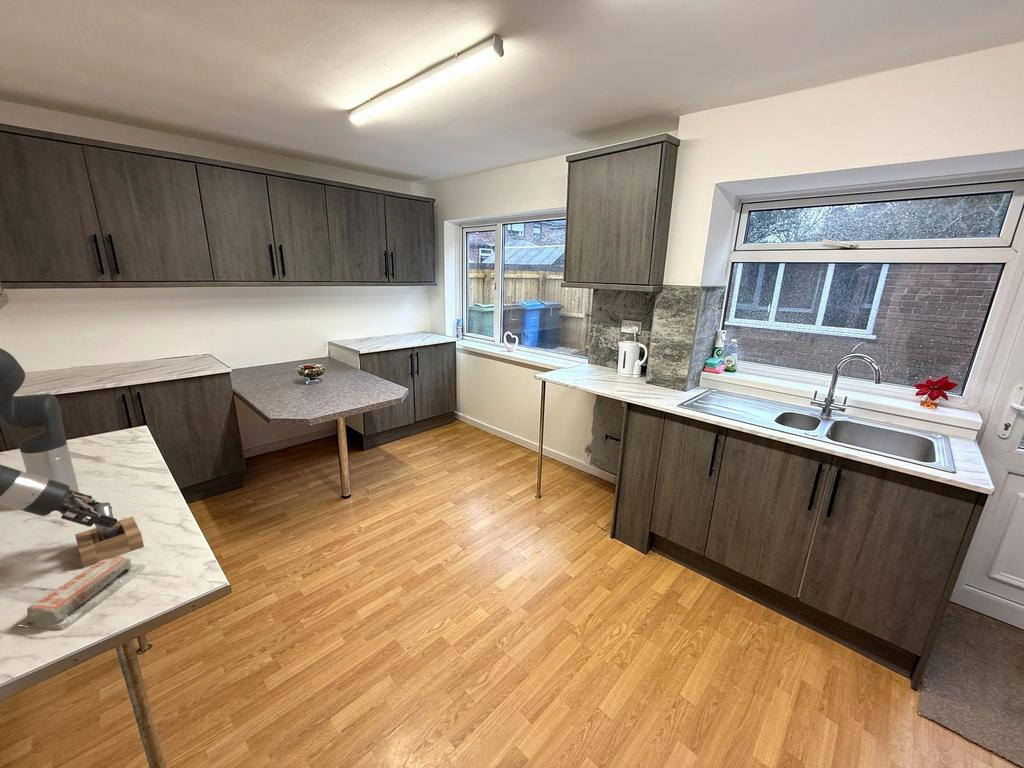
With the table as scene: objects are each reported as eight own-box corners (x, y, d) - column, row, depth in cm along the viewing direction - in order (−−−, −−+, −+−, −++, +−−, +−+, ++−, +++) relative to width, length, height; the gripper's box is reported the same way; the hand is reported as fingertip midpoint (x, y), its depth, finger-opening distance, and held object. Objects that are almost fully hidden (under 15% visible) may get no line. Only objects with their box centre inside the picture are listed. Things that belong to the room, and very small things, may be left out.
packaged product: (60, 612, 80) (11, 609, 80) (66, 632, 81) (17, 629, 81) (143, 552, 97) (102, 550, 97) (147, 569, 99) (107, 567, 99)
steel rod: (100, 547, 105) (90, 506, 102) (118, 541, 107) (109, 500, 104) (102, 553, 103) (91, 511, 100) (120, 547, 105) (111, 505, 102)
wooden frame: (78, 548, 104) (74, 534, 103) (135, 529, 113) (132, 516, 112) (83, 568, 98) (79, 553, 97) (144, 546, 106) (141, 533, 105)
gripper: (48, 489, 90) (129, 514, 101) (44, 469, 98) (119, 494, 110) (17, 520, 87) (104, 542, 98) (16, 497, 96) (95, 519, 107)
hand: (112, 517), depth 104 cm, fingers open, 8 cm apart
